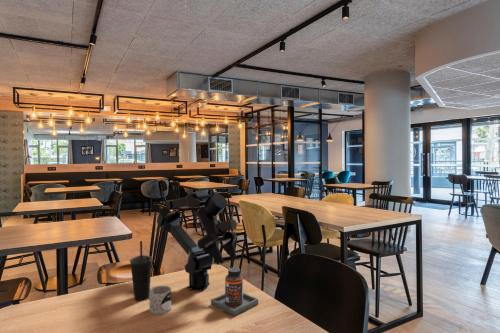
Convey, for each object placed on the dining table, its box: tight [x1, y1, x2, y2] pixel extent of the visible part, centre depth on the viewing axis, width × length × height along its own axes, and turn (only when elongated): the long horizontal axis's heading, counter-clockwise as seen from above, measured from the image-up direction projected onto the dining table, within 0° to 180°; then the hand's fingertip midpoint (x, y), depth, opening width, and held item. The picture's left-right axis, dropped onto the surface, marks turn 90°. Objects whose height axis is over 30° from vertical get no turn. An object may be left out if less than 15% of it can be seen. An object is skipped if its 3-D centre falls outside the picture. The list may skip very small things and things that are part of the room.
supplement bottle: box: [224, 267, 244, 306], centre depth 106 cm, size 6×6×11 cm
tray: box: [210, 292, 259, 318], centre depth 106 cm, size 11×11×2 cm
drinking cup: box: [129, 240, 154, 302], centre depth 111 cm, size 8×8×20 cm
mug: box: [149, 285, 172, 316], centre depth 104 cm, size 10×7×7 cm
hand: (229, 261), depth 109 cm, fingers open, 9 cm apart
